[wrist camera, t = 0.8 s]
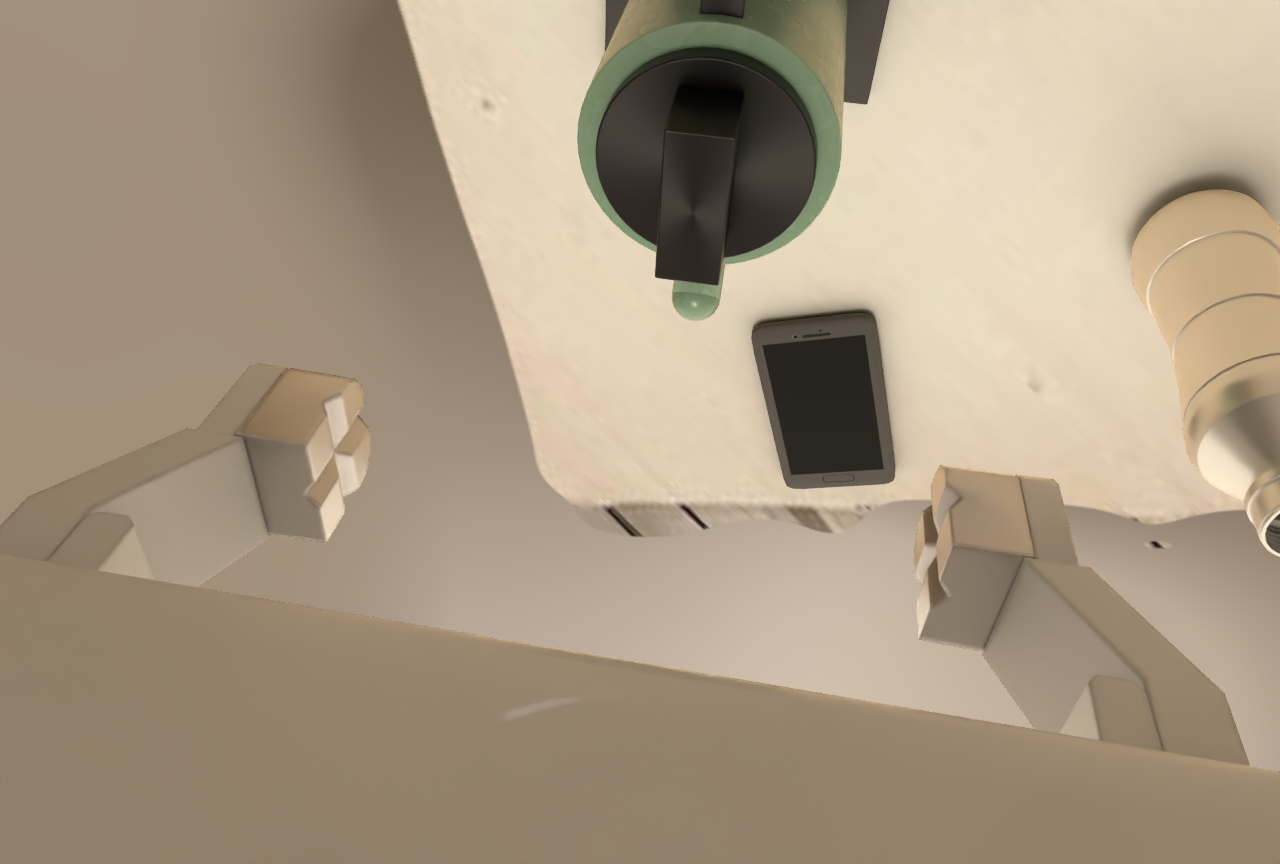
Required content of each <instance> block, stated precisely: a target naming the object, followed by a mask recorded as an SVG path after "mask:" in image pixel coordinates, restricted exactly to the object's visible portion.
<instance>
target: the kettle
mask: <svg viewBox="0 0 1280 864" xmlns="http://www.w3.org/2000/svg"><path fill="white" fill-rule="evenodd" d="M846 26H847V0H629V1H628V3H627V5H626V8H625V10H624V12H623V14H622V16H621V19H620V21H619V23H618V25H617V27H616V30H615V32H614V34H613V36H612V38H611V41H610V43H609V45H608V47H607V49H606V52H605V54H604V56H603V58H602V60H601V63H600V65H599V67H598V69H597V72H596V74H595V76H594V78H593V80H592V83H591V85H590V87H589V89H588V91H587V94H586V97H585V99H584V102H583V105H582V108H581V113H580V118H579V122H578V137H577V139H578V153H579V158H580V163H581V168H582V171H583V174H584V177H585V179H586V182H587V185H588V187H589V189H590V191H591V193H592V195H593V197H594V198H595V200H596V201H597V203H598V204H599V206H600V207H601V209H602V210H603V212H604V213H605V214H606V215H607V216H608V217H609V218H610V220H611V221H612V222H613V223H614V224H615V225H616V226H617V227H618V228H620V229H621V230H622V231H623V232H624V233H625V234H626V235H628V236H629V237H631V238H632V239H633V240H635V241H636V242H638V243H639V244H641V245H643V246H645V247H647V248H648V249H650V250H652V251H654V252H656V268H655V277H656V278H662V279H669V280H674V285H673V291H672V302H673V305H674V308H675V309H676V311H677V312H678V313H679V314H680V315H681V316H682V317H684V318H685V319H688V320H691V321H700V320H704V319H706V318H708V317H710V316H711V315H712V314H713V313H714V312H715V311H716V309H717V307H718V305H719V301H720V296H721V289H722V282H723V275H724V268H725V264H732V263H739V262H745V261H748V260H752V259H756V258H759V257H761V256H764V255H767V254H769V253H772V252H774V251H775V250H777V249H779V248H781V247H783V246H785V245H786V244H788V243H789V242H791V241H792V240H793V239H795V238H796V237H798V236H799V235H800V234H801V233H802V232H803V231H804V230H805V229H806V228H807V227H809V226H810V225H811V223H812V222H813V221H814V220H815V219H816V217H817V216H818V215H819V214H820V213H821V211H822V209H823V208H824V206H825V204H826V203H827V201H828V200H829V197H830V195H831V193H832V191H833V188H834V186H835V183H836V180H837V176H838V172H839V168H840V160H841V149H842V125H843V100H844V75H845V51H846Z"/></svg>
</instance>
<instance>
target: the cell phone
mask: <svg viewBox="0 0 1280 864" xmlns="http://www.w3.org/2000/svg"><path fill="white" fill-rule="evenodd" d="M751 338H752V344H753V349H754V355H755V359H756V363H757V367H758V372H759V376H760V380H761V384H762V389H763V393H764V397H765V401H766V406H767V410H768V414H769V418H770V423H771V427H772V431H773V435H774V440H775V444H776V448H777V452H778V456H779V461H780V465H781V469H782V473H783V478H784V480H785V483H786V485H787V486H788V487H790V488H795V489H808V488H825V487H842V486H859V485H877V484H885V483H890V482H892V481H893V480H894V478H895V462H894V454H893V446H892V439H891V431H890V423H889V415H888V408H887V400H886V392H885V384H884V377H883V369H882V361H881V353H880V346H879V338H878V332H877V327H876V322H875V320H874V317H873V316H872V315H871V314H867V313H850V314H841V315H832V316H823V317H814V318H805V319H796V320H787V321H778V322H768V323H763V324H760V325H758V326H756V327H754V329H753V330H752V337H751Z"/></svg>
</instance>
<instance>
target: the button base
mask: <svg viewBox="0 0 1280 864" xmlns="http://www.w3.org/2000/svg"><path fill="white" fill-rule="evenodd" d="M628 1H629V0H606V36H605V52H606V49H607V47H608V45H609V43H610V41H611V38H612V36H613V34H614V32H615V30H616V27H617V25H618V23H619V21H620V19H621V16H622V14H623V12H624V10H625V8H626V5H627V3H628ZM888 5H889V0H847V26H846V51H845V75H844V100H843V102H849V103H858V104H867V103H868V98H869V94H870V89H871V84H872V80H873V75H874V70H875V66H876V61H877V56H878V52H879V47H880V42H881V38H882V33H883V28H884V24H885V19H886V14H887V10H888Z"/></svg>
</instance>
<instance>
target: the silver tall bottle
mask: <svg viewBox="0 0 1280 864" xmlns="http://www.w3.org/2000/svg"><path fill="white" fill-rule="evenodd" d="M1131 268H1132V281H1133V285H1134V287H1135V289H1136V292H1137V294H1138V295H1139V297H1140V299H1141V301H1142V302H1143V304H1144V306H1145V307H1146V309H1147V310H1148V311H1149V312H1150V314H1151V315H1152V316H1153V317H1154V318H1155V320H1156V322H1157V324H1158V326H1159V328H1160V330H1161V332H1162V334H1163V336H1164V338H1165V340H1166V343H1167V345H1168V347H1169V349H1170V352H1171V356H1172V361H1173V363H1174V369H1175V373H1176V377H1177V382H1178V386H1179V390H1180V401H1181V412H1182V423H1183V435H1184V441H1185V445H1186V451H1187V454H1188V456H1189V459H1190V461H1191V463H1192V464H1193V465H1194V466H1195V467H1196V468H1197V470H1198V471H1199V472H1200V473H1201V474H1202V475H1203V477H1204V478H1205V479H1206V480H1207V481H1208V482H1209V483H1210V484H1212V485H1213V486H1214V487H1216V488H1217V489H1219V490H1221V491H1223V492H1225V493H1227V494H1229V495H1231V496H1233V497H1235V498H1237V499H1240V500H1242V501H1244V507H1245V509H1246V512H1247V515H1248V517H1249V519H1250V521H1251V522H1252V523H1253V524H1254V525H1255V527H1256V530H1257V533H1258V535H1259V538H1260V540H1261V542H1262V543H1263V544H1264V546H1265V547H1266V548H1267V550H1268V551H1270V552H1271V553H1273V554H1274V555H1277V556H1279V557H1280V230H1279V227H1278V224H1277V223H1276V221H1275V220H1274V219H1273V217H1272V216H1271V215H1270V214H1269V213H1268V212H1267V211H1266V210H1265V209H1264V208H1263V207H1262V206H1261V205H1260V204H1259V203H1258V202H1256V201H1255V200H1254V199H1253V198H1251V197H1250V196H1247V195H1245V194H1243V193H1241V192H1236V191H1232V190H1219V189H1214V190H1205V191H1197V192H1194V193H1190V194H1187V195H1184V196H1182V197H1179V198H1177V199H1175V200H1173V201H1172V202H1170V203H1168V204H1167V205H1165V206H1164V207H1162V208H1161V209H1160V210H1159V211H1158V212H1156V213H1155V214H1154V215H1153V216H1152V217H1151V218H1150V219H1149V220H1148V221H1147V223H1146V224H1145V225H1144V226H1143V227H1142V229H1141V231H1140V232H1139V234H1138V235H1137V237H1136V240H1135V243H1134V245H1133V249H1132V257H1131Z"/></svg>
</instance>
